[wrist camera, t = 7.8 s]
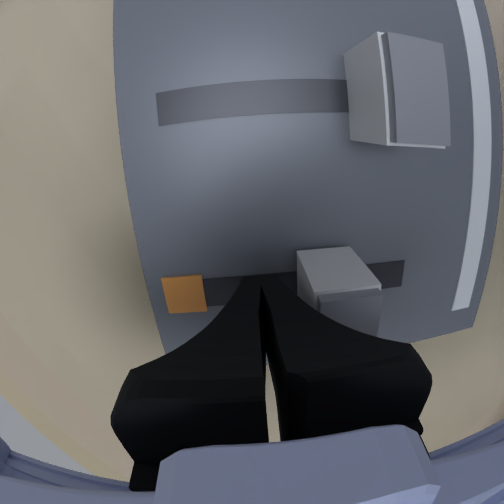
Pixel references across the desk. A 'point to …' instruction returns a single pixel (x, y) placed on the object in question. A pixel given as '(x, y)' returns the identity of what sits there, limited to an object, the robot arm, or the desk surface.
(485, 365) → the desk surface
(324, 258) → the block
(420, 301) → the panel
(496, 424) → the robot arm
